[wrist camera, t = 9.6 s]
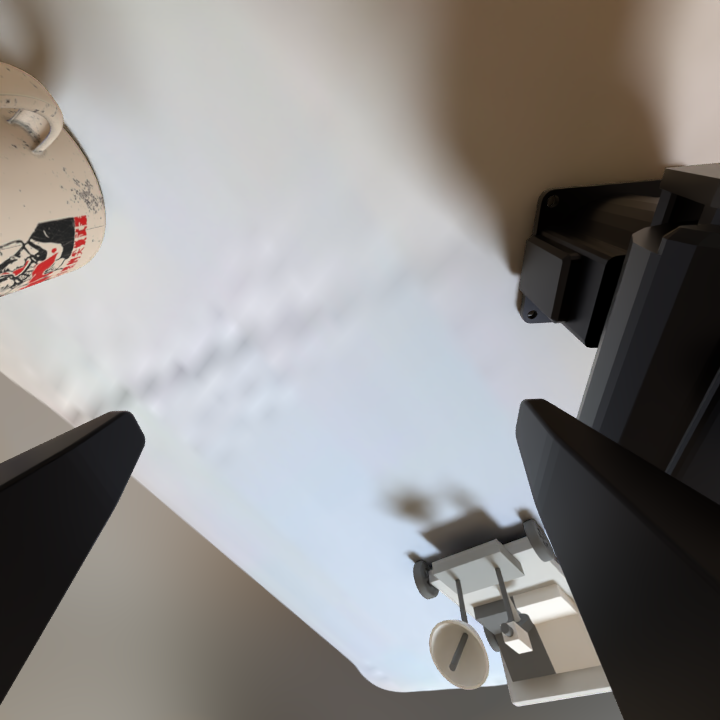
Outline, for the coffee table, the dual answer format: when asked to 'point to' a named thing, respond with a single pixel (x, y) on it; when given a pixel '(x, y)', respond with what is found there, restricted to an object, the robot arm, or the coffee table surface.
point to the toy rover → (512, 620)
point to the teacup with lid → (42, 188)
